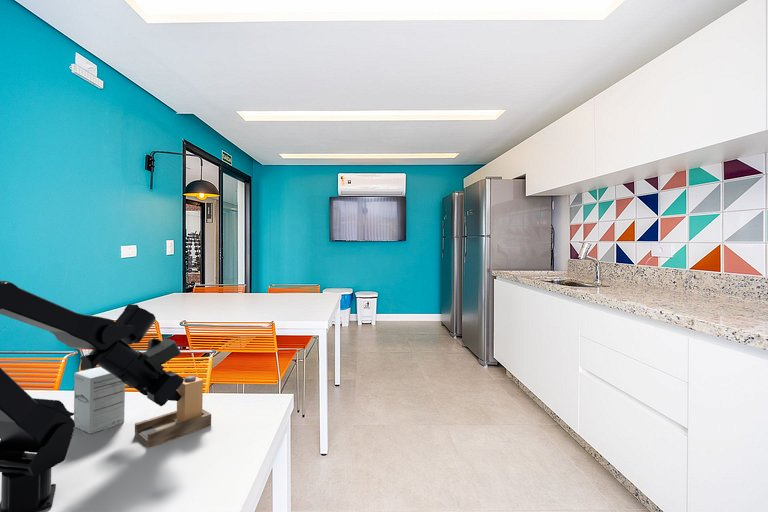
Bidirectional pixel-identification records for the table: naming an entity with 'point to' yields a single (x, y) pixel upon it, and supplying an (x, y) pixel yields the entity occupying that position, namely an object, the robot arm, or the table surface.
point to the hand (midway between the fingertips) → (179, 398)
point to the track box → (169, 428)
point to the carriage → (190, 398)
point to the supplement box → (98, 400)
